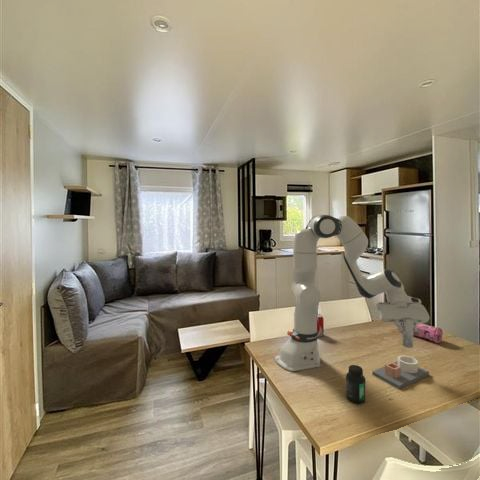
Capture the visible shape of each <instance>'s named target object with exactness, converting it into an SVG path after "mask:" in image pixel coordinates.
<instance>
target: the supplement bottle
mask: <svg viewBox="0 0 480 480" xmlns="http://www.w3.org/2000/svg"><path fill="white" fill-rule="evenodd" d="M363 371H364V370H363V368H362V367H361V366H359V365H357V364H350V365H349V366H348V372H347V373H346V375H345V398H346V399H347V401H348V402H350V403H352V404H354V405H362V404H364V403H365V402H366V386H367V385H366V384H367V383H366V382H367V381H366V380H367V379H366V377H365V375H364V373H363Z"/></svg>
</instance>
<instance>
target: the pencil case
mask: <svg viewBox="0 0 480 480" xmlns="http://www.w3.org/2000/svg"><path fill="white" fill-rule="evenodd" d="M399 324H400V325H401V326H403V322H399ZM397 328H398V327H397ZM417 329H418V331H417V332H413V336H415V337H419V338H423V339H426V340H428V341H431V342H434V343H436V344H439V343H442V340H443V330H442V328H441V327H439V326H437V327H436V326H433V325H432V326H430V325H427V324H425V323H418V324H417ZM397 330H399V328H398V329H397ZM400 333H403V331H400Z"/></svg>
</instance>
